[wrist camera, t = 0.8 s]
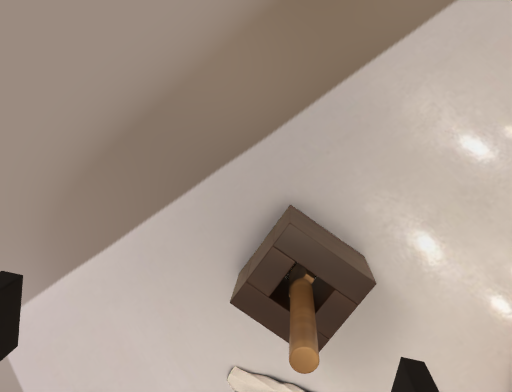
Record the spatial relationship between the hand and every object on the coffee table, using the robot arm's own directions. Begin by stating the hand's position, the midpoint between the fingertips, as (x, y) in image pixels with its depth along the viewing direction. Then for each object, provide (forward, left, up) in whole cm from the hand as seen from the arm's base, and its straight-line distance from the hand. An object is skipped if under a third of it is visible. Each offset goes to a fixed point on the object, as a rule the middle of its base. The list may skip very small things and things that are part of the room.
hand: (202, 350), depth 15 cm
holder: (+3, +7, -24) cm, 25 cm away
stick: (+3, +7, -24) cm, 25 cm away
